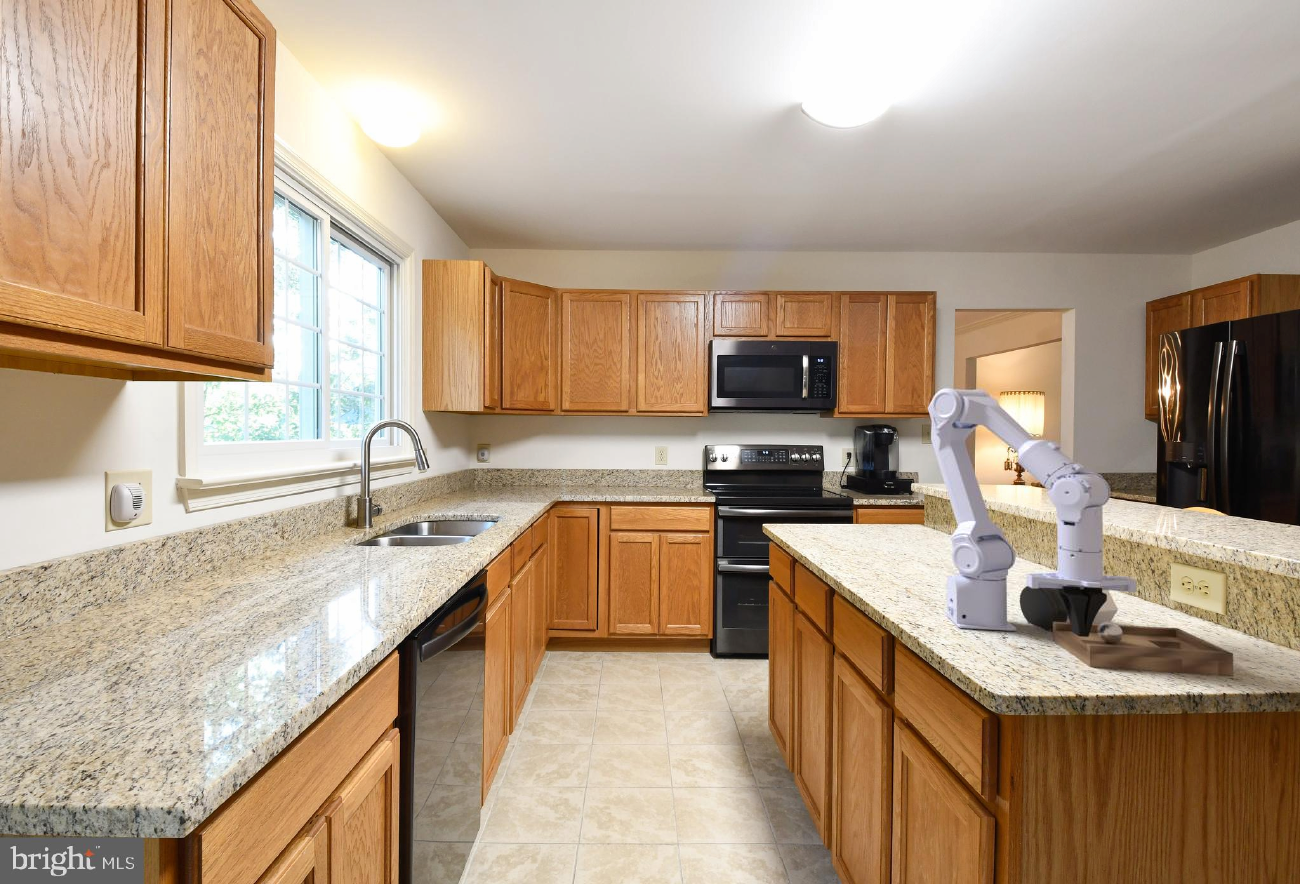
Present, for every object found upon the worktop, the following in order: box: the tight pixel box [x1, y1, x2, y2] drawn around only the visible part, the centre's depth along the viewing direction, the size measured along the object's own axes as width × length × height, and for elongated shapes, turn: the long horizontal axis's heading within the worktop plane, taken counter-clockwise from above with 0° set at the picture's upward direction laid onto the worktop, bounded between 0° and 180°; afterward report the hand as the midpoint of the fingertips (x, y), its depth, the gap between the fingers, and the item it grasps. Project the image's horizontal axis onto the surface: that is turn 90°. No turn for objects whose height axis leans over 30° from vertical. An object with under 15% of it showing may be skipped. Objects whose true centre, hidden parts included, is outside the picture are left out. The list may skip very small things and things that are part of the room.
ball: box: [1097, 621, 1123, 643], centre depth 88 cm, size 3×3×3 cm
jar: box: [1019, 585, 1119, 631], centre depth 102 cm, size 9×8×12 cm
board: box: [1052, 622, 1234, 677], centre depth 87 cm, size 18×11×3 cm, turn 78°
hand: (1080, 634), depth 88 cm, fingers closed
